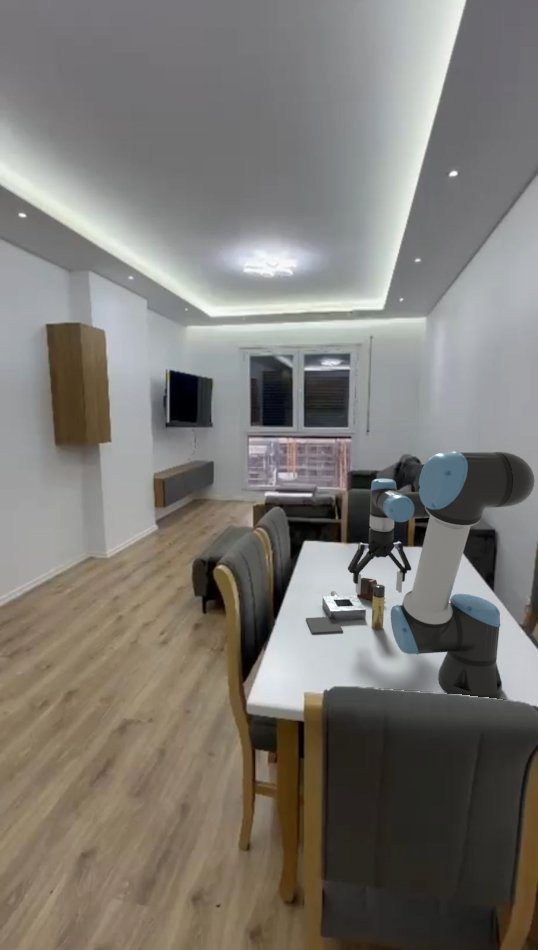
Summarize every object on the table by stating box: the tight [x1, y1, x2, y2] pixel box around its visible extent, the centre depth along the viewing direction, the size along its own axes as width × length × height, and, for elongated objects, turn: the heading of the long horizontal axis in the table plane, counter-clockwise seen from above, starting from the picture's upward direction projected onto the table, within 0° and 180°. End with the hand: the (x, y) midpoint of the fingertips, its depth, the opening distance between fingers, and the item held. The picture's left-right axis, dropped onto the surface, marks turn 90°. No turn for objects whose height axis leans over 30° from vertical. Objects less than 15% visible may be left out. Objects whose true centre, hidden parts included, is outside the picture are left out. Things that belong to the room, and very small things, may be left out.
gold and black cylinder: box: [371, 583, 386, 631], centre depth 153 cm, size 4×4×14 cm
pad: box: [305, 616, 344, 635], centre depth 155 cm, size 10×10×1 cm
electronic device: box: [356, 577, 386, 602], centre depth 175 cm, size 4×10×8 cm, turn 44°
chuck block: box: [321, 590, 367, 622], centre depth 168 cm, size 20×12×4 cm, turn 7°
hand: (378, 591), depth 152 cm, fingers open, 13 cm apart
